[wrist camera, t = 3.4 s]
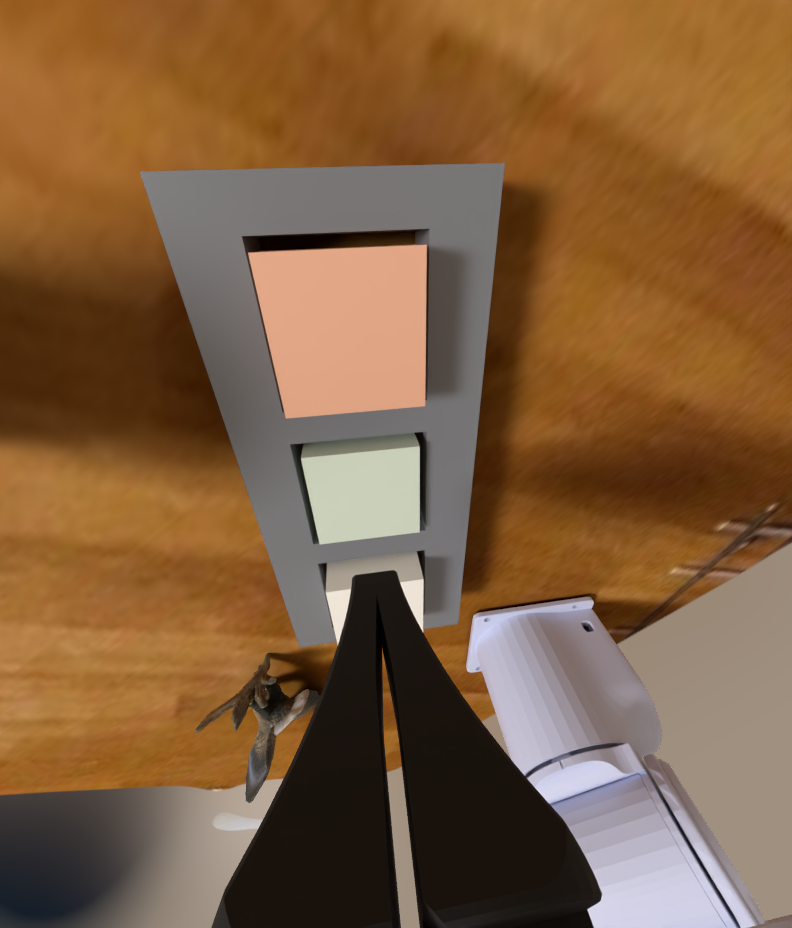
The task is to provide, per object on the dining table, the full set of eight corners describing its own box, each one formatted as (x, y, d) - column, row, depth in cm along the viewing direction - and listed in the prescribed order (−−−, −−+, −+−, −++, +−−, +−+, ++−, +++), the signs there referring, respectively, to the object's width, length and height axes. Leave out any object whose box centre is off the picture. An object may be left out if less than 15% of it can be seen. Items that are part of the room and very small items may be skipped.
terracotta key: (410, 244, 12) (426, 244, 10) (412, 381, 14) (425, 405, 12) (265, 250, 11) (248, 252, 9) (294, 391, 14) (286, 418, 12)
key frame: (476, 176, 12) (504, 162, 10) (447, 591, 24) (457, 623, 22) (177, 184, 11) (139, 172, 9) (303, 611, 23) (299, 647, 21)
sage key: (409, 419, 16) (419, 446, 14) (410, 499, 19) (419, 532, 17) (306, 428, 16) (300, 458, 14) (321, 509, 19) (319, 544, 16)
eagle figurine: (184, 685, 24) (231, 759, 28) (204, 774, 19) (260, 852, 22) (285, 618, 28) (315, 690, 32) (325, 676, 23) (357, 755, 26)
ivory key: (414, 541, 19) (423, 579, 17) (414, 596, 22) (423, 634, 20) (327, 552, 19) (325, 592, 17) (338, 606, 21) (338, 647, 19)
